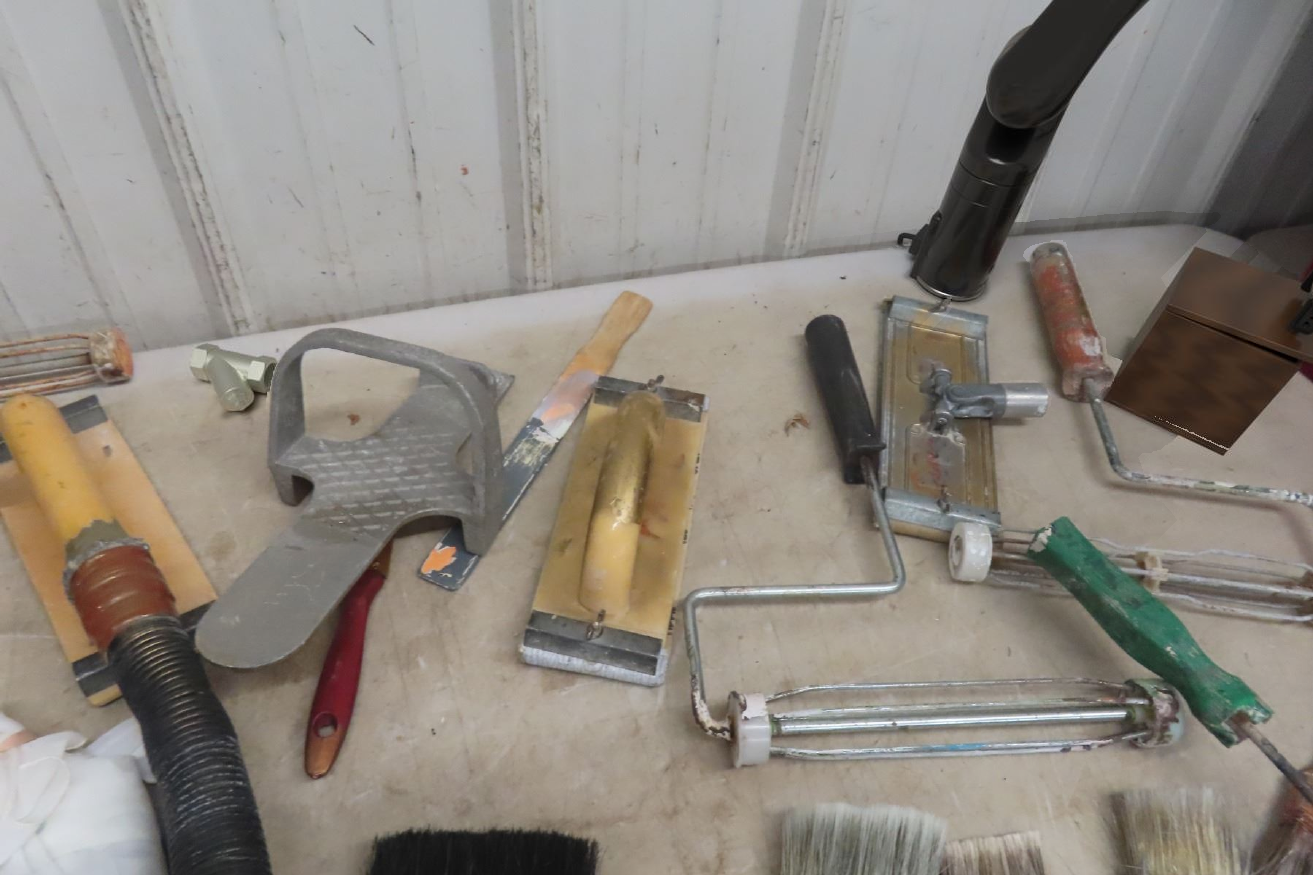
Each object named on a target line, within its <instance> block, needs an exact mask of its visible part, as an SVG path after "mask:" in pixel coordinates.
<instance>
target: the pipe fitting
mask: <svg viewBox="0 0 1313 875" xmlns="http://www.w3.org/2000/svg"><path fill="white" fill-rule="evenodd" d="M277 364H279V363H278V360H277V359H276V358H275V357H273V356H269V355H260V356H254V355H250V354H246V353H241V352H236V351H231V350H227V349H222V348H221V347H220V346H219V345H218V344H212V343H203V344H200V345H198V346H196V347H195V348H194V349H193V351H192V353H191V356H190V360H189V369H190V372H191V373H192V375H193V376H194V377H195V379H198V380H203V381H208V382H210V384H211V386H212V388H213V391H214V393H215V396H216V398H217V400H218V402H219V405H220V406H221V407H222V408H223V409H224V410H226V411H229V412H238V411H244V410H245V409H247V408H248V407H249V406H250V405H251V404H252V403H253V401H254V400H255V393H254V392H258V393H262V394H266V393H270V392H271V391H270V386H271V380H272V377H273V371H274V370H275V367H276V365H277Z"/></svg>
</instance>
